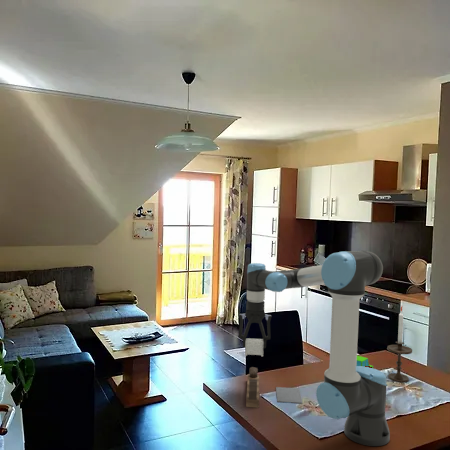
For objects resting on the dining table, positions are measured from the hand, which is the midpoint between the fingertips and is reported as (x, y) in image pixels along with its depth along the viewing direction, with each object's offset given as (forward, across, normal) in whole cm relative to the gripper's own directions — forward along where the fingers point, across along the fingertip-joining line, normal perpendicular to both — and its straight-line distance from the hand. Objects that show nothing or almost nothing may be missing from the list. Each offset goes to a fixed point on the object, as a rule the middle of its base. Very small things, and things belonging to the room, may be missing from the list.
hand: (254, 354), depth 184 cm
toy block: (+17, -50, -26) cm, 59 cm away
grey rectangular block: (-2, 0, 0) cm, 2 cm away
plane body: (+16, 0, 0) cm, 16 cm away
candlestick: (+17, -68, -26) cm, 75 cm away
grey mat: (+16, -15, 0) cm, 22 cm away
